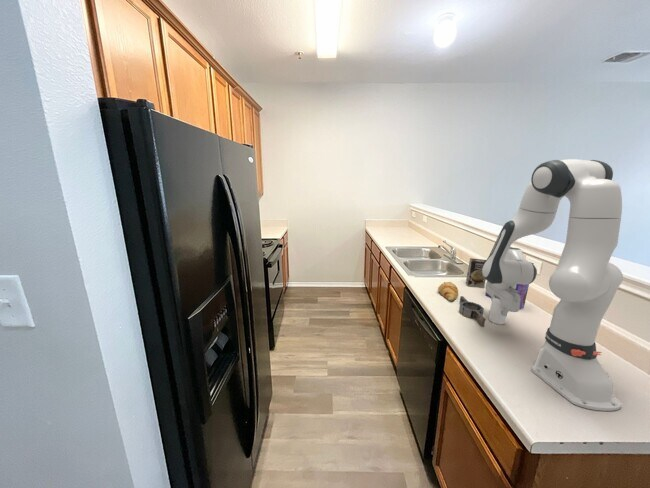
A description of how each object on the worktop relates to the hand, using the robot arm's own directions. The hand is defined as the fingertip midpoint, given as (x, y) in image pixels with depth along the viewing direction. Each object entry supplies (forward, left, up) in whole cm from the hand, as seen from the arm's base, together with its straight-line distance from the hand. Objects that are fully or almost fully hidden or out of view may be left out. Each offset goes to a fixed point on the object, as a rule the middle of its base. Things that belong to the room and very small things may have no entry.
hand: (498, 311), depth 122 cm
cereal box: (+21, -15, -5) cm, 26 cm away
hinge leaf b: (+9, +9, -5) cm, 14 cm away
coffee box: (+42, -10, -5) cm, 44 cm away
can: (0, 0, -5) cm, 5 cm away
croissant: (+28, +12, -6) cm, 31 cm away
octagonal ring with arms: (+3, +9, -5) cm, 11 cm away
